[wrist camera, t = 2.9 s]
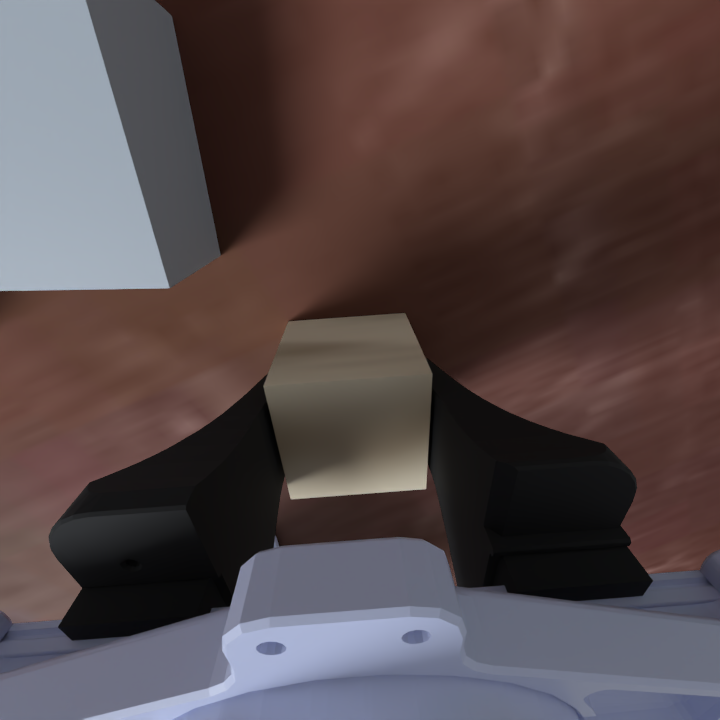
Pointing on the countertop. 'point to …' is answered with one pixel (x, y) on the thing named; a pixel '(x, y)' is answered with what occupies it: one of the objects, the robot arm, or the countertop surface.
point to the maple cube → (351, 406)
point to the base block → (97, 149)
